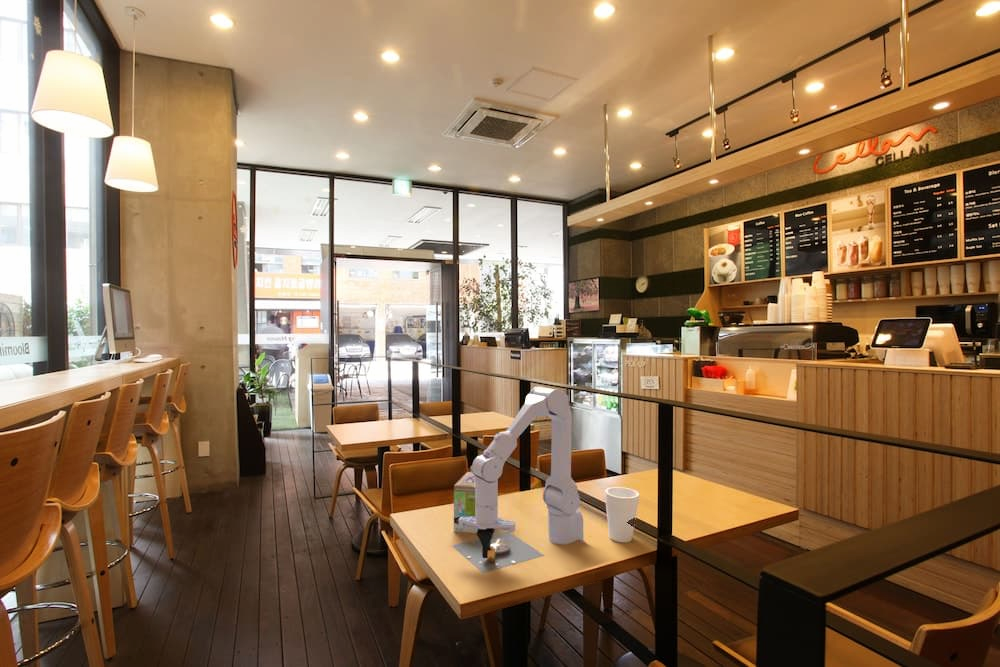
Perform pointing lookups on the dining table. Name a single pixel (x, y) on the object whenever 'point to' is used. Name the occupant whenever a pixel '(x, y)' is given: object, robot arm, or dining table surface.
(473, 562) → the panel
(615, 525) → the foam cup
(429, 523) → the dining table surface
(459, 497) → the tea box
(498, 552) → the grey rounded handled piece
